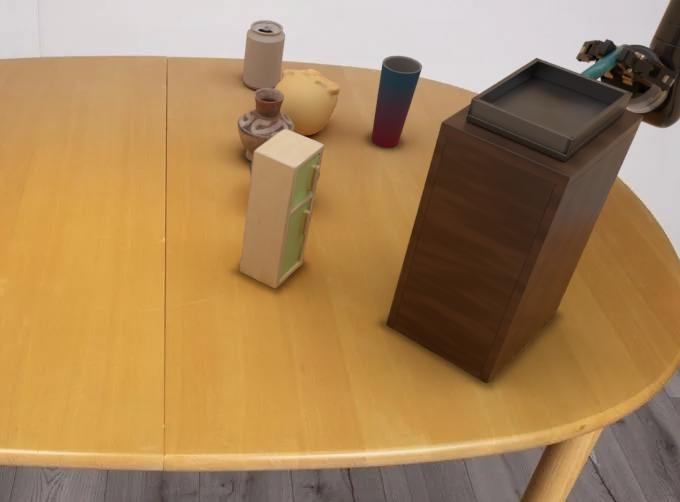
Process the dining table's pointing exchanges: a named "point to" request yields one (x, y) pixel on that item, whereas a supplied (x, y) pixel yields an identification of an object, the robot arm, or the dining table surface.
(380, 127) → the cup
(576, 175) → the wooden filing cabinet
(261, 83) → the can
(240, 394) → the dining table surface
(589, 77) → the grey square pan
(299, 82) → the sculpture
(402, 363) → the dining table surface
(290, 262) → the toy refrigerator
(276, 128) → the pottery
